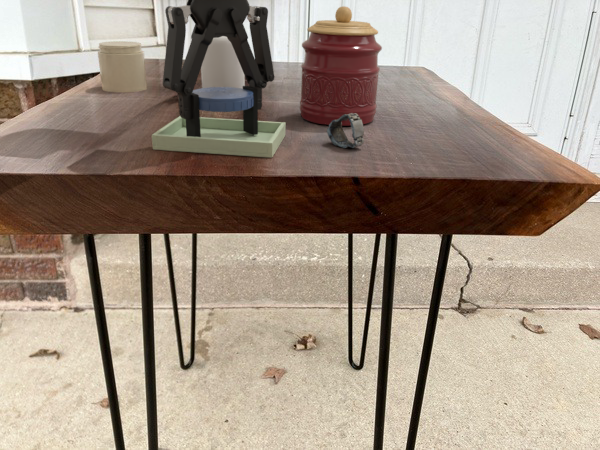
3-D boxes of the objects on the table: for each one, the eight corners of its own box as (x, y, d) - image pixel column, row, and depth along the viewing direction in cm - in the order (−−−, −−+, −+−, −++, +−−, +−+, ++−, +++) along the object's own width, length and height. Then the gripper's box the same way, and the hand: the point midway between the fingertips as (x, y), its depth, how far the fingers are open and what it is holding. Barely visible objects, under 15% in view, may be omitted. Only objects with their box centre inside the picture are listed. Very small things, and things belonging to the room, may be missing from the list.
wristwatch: (352, 153, 76) (336, 124, 77) (372, 137, 72) (354, 105, 72) (337, 159, 74) (320, 129, 75) (355, 142, 70) (338, 110, 71)
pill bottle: (194, 100, 100) (189, 14, 93) (228, 95, 105) (226, 14, 98) (218, 107, 94) (215, 18, 88) (253, 102, 99) (253, 17, 93)
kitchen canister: (384, 127, 85) (396, 9, 78) (305, 127, 83) (309, 7, 76) (364, 109, 97) (373, 5, 89) (294, 109, 95) (297, 3, 88)
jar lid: (259, 100, 76) (259, 88, 75) (245, 113, 68) (245, 100, 67) (201, 97, 77) (201, 85, 76) (181, 109, 69) (180, 96, 68)
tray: (152, 149, 70) (151, 134, 69) (180, 128, 80) (179, 115, 80) (272, 157, 69) (272, 143, 68) (285, 135, 79) (285, 122, 78)
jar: (95, 102, 96) (88, 44, 91) (115, 93, 103) (109, 40, 99) (137, 104, 95) (132, 46, 91) (154, 96, 102) (150, 42, 98)
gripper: (147, -49, 56) (164, 156, 66) (303, -40, 68) (299, 132, 77) (121, -48, 61) (140, 141, 71) (270, -39, 73) (270, 122, 83)
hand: (223, 137), depth 74 cm, fingers closed on jar lid, 8 cm apart
